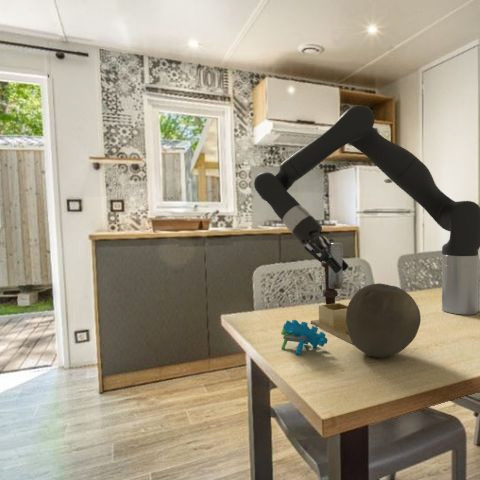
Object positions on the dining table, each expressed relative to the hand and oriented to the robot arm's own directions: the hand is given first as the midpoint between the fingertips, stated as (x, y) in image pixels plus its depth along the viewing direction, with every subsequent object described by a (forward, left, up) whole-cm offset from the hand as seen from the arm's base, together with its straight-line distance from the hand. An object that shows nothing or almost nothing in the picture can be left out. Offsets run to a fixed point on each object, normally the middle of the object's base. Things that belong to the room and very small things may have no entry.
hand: (342, 269), depth 92 cm
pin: (+1, -2, -5) cm, 5 cm away
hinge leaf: (0, +2, -16) cm, 16 cm away
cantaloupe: (+5, +19, -16) cm, 25 cm away
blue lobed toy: (+18, +10, -16) cm, 26 cm away
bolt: (-10, -21, -16) cm, 28 cm away
